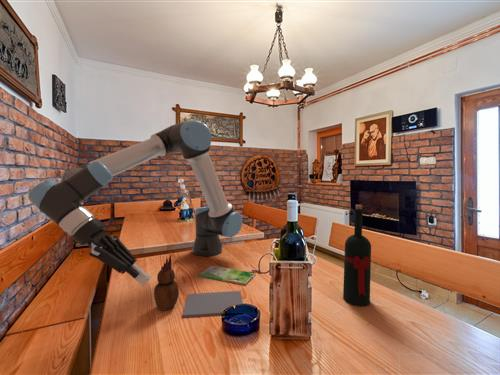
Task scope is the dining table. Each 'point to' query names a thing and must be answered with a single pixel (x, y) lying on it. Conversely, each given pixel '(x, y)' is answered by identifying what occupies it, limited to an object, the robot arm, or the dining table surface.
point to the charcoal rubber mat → (210, 303)
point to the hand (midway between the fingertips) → (147, 281)
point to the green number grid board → (227, 275)
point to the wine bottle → (357, 265)
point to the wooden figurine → (166, 287)
